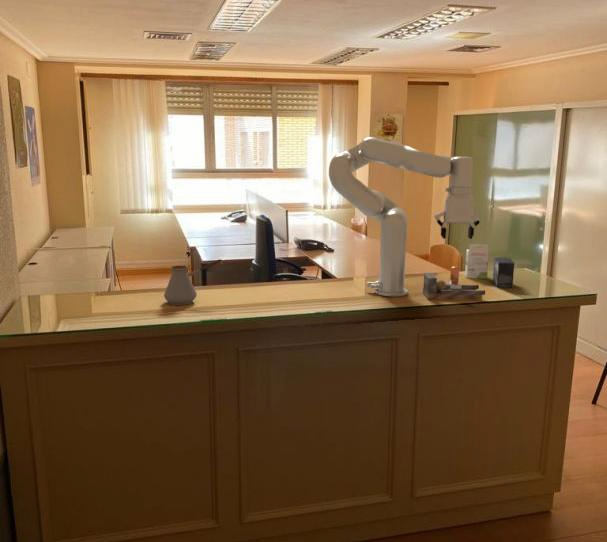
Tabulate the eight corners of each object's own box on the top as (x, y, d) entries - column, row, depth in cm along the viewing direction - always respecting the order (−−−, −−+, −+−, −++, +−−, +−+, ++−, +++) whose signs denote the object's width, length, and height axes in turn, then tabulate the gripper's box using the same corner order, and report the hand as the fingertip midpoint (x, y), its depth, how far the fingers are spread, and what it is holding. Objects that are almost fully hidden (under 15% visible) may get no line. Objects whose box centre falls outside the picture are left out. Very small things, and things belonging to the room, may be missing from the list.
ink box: (484, 276, 256) (487, 242, 252) (487, 278, 251) (489, 244, 247) (464, 275, 256) (466, 241, 253) (466, 278, 252) (468, 243, 248)
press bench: (427, 299, 219) (428, 278, 217) (422, 293, 227) (423, 272, 226) (484, 300, 219) (486, 278, 217) (477, 293, 228) (479, 273, 226)
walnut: (435, 292, 221) (435, 281, 220) (432, 289, 225) (433, 278, 224) (446, 292, 221) (447, 281, 220) (444, 289, 225) (444, 278, 224)
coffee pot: (165, 308, 206) (163, 265, 203) (163, 299, 217) (161, 259, 213) (226, 303, 212) (225, 262, 209) (221, 295, 223) (220, 255, 220)
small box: (491, 281, 247) (493, 256, 244) (507, 282, 246) (510, 257, 243) (496, 288, 236) (498, 262, 234) (513, 288, 235) (515, 262, 233)
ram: (450, 292, 220) (451, 268, 218) (446, 288, 226) (447, 265, 224) (460, 292, 220) (462, 269, 218) (456, 288, 226) (458, 265, 224)
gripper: (438, 192, 211) (435, 239, 214) (487, 192, 211) (483, 240, 215) (433, 190, 218) (431, 236, 222) (480, 190, 218) (477, 236, 222)
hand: (456, 238), depth 218 cm, fingers open, 9 cm apart
